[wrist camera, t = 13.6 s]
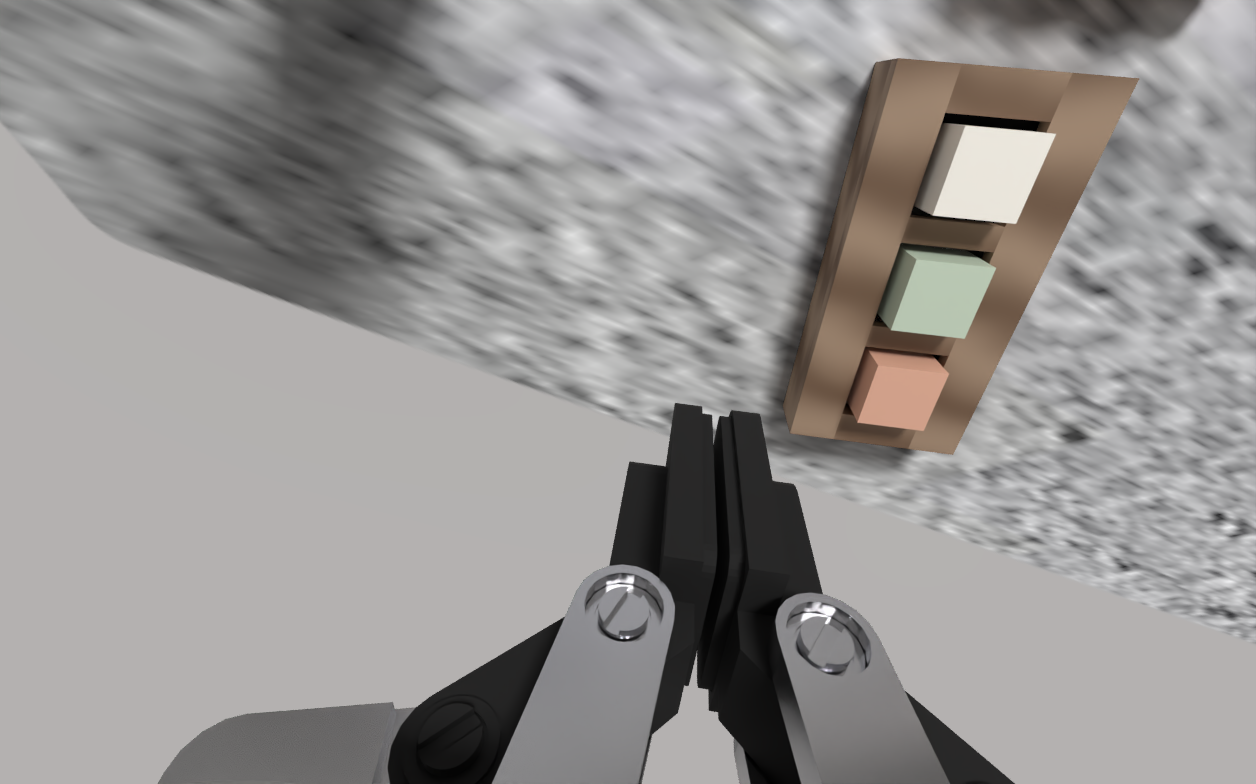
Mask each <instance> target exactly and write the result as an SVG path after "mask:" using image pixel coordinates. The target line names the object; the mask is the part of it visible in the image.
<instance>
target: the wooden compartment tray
mask: <svg viewBox="0 0 1256 784" xmlns="http://www.w3.org/2000/svg"><path fill="white" fill-rule="evenodd" d="M1138 80H1139V78H1127V77H1115V76H1103V75H1091V74H1079V73H1067V72H1055V71H1043V70H1031V69H1019V68H1007V67H995V66H983V65H971V64H959V63H948V62H936V61H924V60H912V59H900V58H897V59H892V60H886V61H881V62H876V63H875V67H874V71H873V74H872V78H871V82H870V85H869V89H868V93H867V97H866V100H865V104H864V108H863V111H862V115H861V119H860V122H859V126H858V130H857V133H856V137H855V141H854V145H853V148H852V152H851V156H850V159H849V163H848V167H847V170H846V174H845V178H844V181H843V185H842V189H841V193H840V196H839V200H838V204H837V207H836V211H835V215H834V218H833V222H832V226H831V230H830V233H829V237H828V241H827V244H826V248H825V252H824V255H823V259H822V263H821V266H820V270H819V274H818V278H817V281H816V285H815V289H814V292H813V296H812V300H811V303H810V307H809V311H808V315H807V318H806V322H805V326H804V329H803V333H802V337H801V340H800V344H799V348H798V351H797V355H796V359H795V363H794V366H793V370H792V374H791V377H790V381H789V385H788V388H787V392H786V396H785V400H784V403H783V409H784V413H785V416H786V420H787V424H788V428H789V431H790V433H791V434H799V435H806V436H814V437H822V438H829V439H837V440H845V441H852V442H860V443H868V444H875V445H883V446H891V447H898V448H906V449H914V450H921V451H929V452H937V453H944V454H952V455H953V453H954V451H955V449H956V447H957V445H958V443H959V441H960V439H961V437H962V435H963V433H964V431H965V429H966V427H967V425H968V423H969V421H970V419H971V417H972V415H973V413H974V411H975V409H976V407H977V405H978V403H979V401H980V399H981V397H982V395H983V393H984V391H985V389H986V387H987V385H988V383H989V381H990V379H991V377H992V375H993V373H994V371H995V369H996V367H997V365H998V363H999V361H1000V359H1001V357H1002V355H1003V353H1004V351H1005V349H1006V347H1007V345H1008V343H1009V340H1010V338H1011V336H1012V334H1013V332H1014V330H1015V328H1016V326H1017V324H1018V322H1019V320H1020V318H1021V316H1022V314H1023V312H1024V310H1025V308H1026V306H1027V304H1028V302H1029V300H1030V298H1031V296H1032V294H1033V292H1034V290H1035V288H1036V286H1037V284H1038V282H1039V280H1040V278H1041V276H1042V274H1043V272H1044V270H1045V268H1046V266H1047V264H1048V262H1049V260H1050V258H1051V256H1052V254H1053V252H1054V250H1055V248H1056V246H1057V244H1058V242H1059V240H1060V238H1061V236H1062V234H1063V232H1064V230H1065V228H1066V225H1067V223H1068V221H1069V219H1070V217H1071V215H1072V213H1073V211H1074V209H1075V207H1076V205H1077V203H1078V201H1079V199H1080V197H1081V195H1082V193H1083V191H1084V189H1085V187H1086V185H1087V183H1088V181H1089V179H1090V177H1091V175H1092V173H1093V171H1094V169H1095V167H1096V165H1097V163H1098V161H1099V159H1100V157H1101V155H1102V153H1103V151H1104V149H1105V147H1106V145H1107V143H1108V141H1109V139H1110V137H1111V135H1112V133H1113V131H1114V129H1115V127H1116V125H1117V123H1118V121H1119V119H1120V117H1121V115H1122V113H1123V110H1124V108H1125V106H1126V104H1127V102H1128V100H1129V98H1130V96H1131V94H1132V92H1133V90H1134V88H1135V86H1136V84H1137V82H1138ZM945 113H953V114H964V115H975V116H986V117H997V118H1009V119H1020V120H1031V121H1040V124H1039V126H1038V128H1037V131H1036V132H1044V133H1053V134H1056V135H1055V138H1054V140H1053V142H1052V144H1051V147H1050V149H1049V151H1048V153H1047V156H1046V158H1045V160H1044V162H1043V165H1042V167H1041V169H1040V171H1039V174H1038V176H1037V178H1036V180H1035V182H1034V185H1033V187H1032V189H1031V191H1030V194H1029V196H1028V198H1027V200H1026V203H1025V205H1024V207H1023V209H1022V212H1021V214H1020V216H1019V218H1018V221H1017V223H1016V224H1012V223H1002V222H997V223H987V222H978V221H968V220H958V219H948V218H939V217H929V216H919V215H910V214H911V211H912V209H913V206H914V203H915V200H916V197H917V194H918V191H919V188H920V185H921V182H922V179H923V176H924V174H925V171H926V168H927V165H928V162H929V159H930V156H931V153H932V150H933V147H934V144H935V141H936V138H937V136H938V133H939V130H940V127H941V124H942V121H943V118H944V115H945ZM901 243H909V244H919V245H928V246H938V247H947V248H957V249H966V250H975V251H985V252H984V254H983V257H982V260H983V261H985V262H987V263H988V264H990V265H992V266H994V267H995V268H996V270H995V272H994V274H993V276H992V279H991V281H990V283H989V285H988V288H987V290H986V292H985V294H984V297H983V299H982V301H981V303H980V306H979V308H978V310H977V312H976V315H975V317H974V319H973V321H972V324H971V326H970V328H969V330H968V332H967V335H966V337H965V339H962V338H954V337H945V336H936V335H928V334H919V333H911V332H902V331H894V330H890V328H889V327H888V326H887V325H886V323H885V322H879V321H874V319H875V317H876V314H877V311H878V308H879V305H880V302H881V299H882V296H883V293H884V290H885V287H886V284H887V282H888V279H889V276H890V273H891V270H892V267H893V264H894V261H895V258H896V255H897V252H898V249H899V246H900V244H901ZM865 346H867V347H876V348H884V349H893V350H901V351H909V352H918V353H926V354H935V355H940V357H939V360H938V362H939V363H940V364H941V366H942V367H943V368H944V369H945V370H946V371H947V372H948V373H949V375H948V378H947V380H946V382H945V384H944V387H943V389H942V391H941V393H940V396H939V398H938V400H937V402H936V405H935V407H934V409H933V411H932V413H931V416H930V418H929V420H928V422H927V425H926V427H925V429H924V431H919V430H912V429H904V428H896V427H888V426H880V425H873V424H865V423H857V421H856V418H855V416H854V414H853V412H852V410H851V408H850V406H849V404H848V403H846V401H847V398H848V395H849V392H850V390H851V387H852V384H853V381H854V378H855V375H856V372H857V369H858V366H859V363H860V360H861V357H862V354H863V352H864V349H865Z"/></svg>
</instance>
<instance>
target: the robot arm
mask: <svg viewBox="0 0 1256 784" xmlns="http://www.w3.org/2000/svg"><path fill="white" fill-rule="evenodd" d="M696 653H697V684H698V688H703V689H709V711H714V712H718V716H719V717H718V718H719V721H720V722H721V723H722V724H723V726H724V727H725V728H726V729H727V730H728V731H729V732H730V734H731V735H732V736H733V737H734V756H735V762H736V767H737V771H738V778H739V783H740V784H1015V783H1013V782H1012V781H1011V780H1010V779H1009V778H1007V777H1006V776H1005V775H1004V774H1002V773H1001V772H1000V771H999V770H998V769H997V768H996V767H994V766H993V765H992V764H991V763H990V762H989V761H987V760H986V759H985V758H984V757H983V756H981V755H980V754H979V753H977V751H976V750H974V749H973V748H972V747H971V746H970V745H968V744H967V743H966V742H965V741H964V740H962V739H961V738H960V737H959V736H958V735H957V734H955V733H954V732H953V731H952V730H951V729H950V728H948V727H947V726H946V725H945V724H944V723H942V722H941V721H940V720H939V719H938V718H937V717H935V716H934V715H933V714H932V713H930V712H929V711H928V710H927V709H926V708H925V707H924V706H922V705H921V704H920V703H919V702H918V701H916V700H915V699H914V698H913V697H912V696H910V695H909V694H908V693H907V692H906V691H905V690H904V688H903V686H902V684H901V682H900V680H899V678H898V676H897V674H896V672H895V670H894V668H893V666H892V664H891V662H890V660H889V657H888V655H887V653H886V651H885V649H884V647H883V645H882V643H881V641H880V639H879V637H878V636H877V634H876V633H875V631H874V630H873V628H872V626H871V625H870V623H869V622H867V620H866V619H865V618H863V617H862V615H860V614H859V613H858V612H857V611H856V610H855V609H853V608H852V607H850V606H849V605H847V604H846V603H844V602H842V601H840V600H838V599H835V598H833V597H830V596H827V595H823V593H822V589H821V585H820V581H819V577H818V573H817V569H816V565H815V561H814V557H813V553H812V549H811V545H810V540H809V536H808V532H807V528H806V524H805V521H804V516H803V512H802V508H801V504H800V500H799V496H798V492H797V489H796V487H795V486H794V485H793V484H790V483H783V482H775V481H773V480H772V475H771V470H770V465H769V459H768V454H767V449H766V443H765V438H764V433H763V428H762V422H761V417H760V414H757V413H749V412H741V411H733V410H731V412H730V415H729V417H724V416H720V417H719V420H718V425H717V430H716V435H715V440H714V445H713V427H712V415H709V414H702V406H694V405H687V404H679V403H675V407H674V413H673V420H672V427H671V434H670V441H669V447H668V455H667V461H666V466H658V465H651V464H644V463H635V462H629V467H628V471H627V476H626V482H625V487H624V492H623V497H622V502H621V508H620V513H619V518H618V524H617V529H616V534H615V539H614V545H613V550H612V555H611V560H610V565H609V566H607V567H605V568H602V569H599V570H597V571H595V572H593V573H592V574H591V575H589V576H588V577H587V578H586V579H584V580H583V582H582V583H581V585H580V587H579V588H578V589H577V591H576V593H575V595H574V598H573V600H572V602H571V605H570V607H569V609H568V611H567V614H566V616H565V617H564V618H562V619H560V620H559V621H557V622H555V623H553V624H552V625H550V626H548V627H547V628H545V629H543V630H542V631H540V632H538V633H537V634H535V635H533V636H532V637H530V638H528V639H526V640H525V641H524V642H522V643H520V644H518V645H516V646H515V647H513V648H511V649H510V650H508V651H506V652H505V653H503V654H501V655H500V656H498V657H496V658H495V659H493V660H491V661H490V662H488V663H486V664H484V665H483V666H481V667H479V668H478V669H476V670H474V671H473V672H471V673H469V674H467V675H466V676H464V677H462V678H461V679H459V680H457V681H456V682H454V683H452V684H451V685H449V686H447V687H446V688H444V689H442V690H441V691H439V692H437V693H436V694H434V695H432V696H431V697H429V698H428V699H427V700H425V701H424V702H423V703H422V704H420V705H419V706H418V707H416V708H406V709H394V705H393V702H390V703H378V704H365V705H353V706H340V707H328V708H315V709H303V710H290V711H277V712H266V713H252V714H245V715H241V716H237V717H233V718H229V719H225V720H224V721H221V722H219V723H218V724H216V725H214V726H212V727H210V728H208V729H206V730H205V731H203V732H201V733H200V734H199V735H198V736H197V737H196V738H194V739H193V740H192V741H191V742H190V743H189V744H187V745H186V746H185V747H184V748H183V749H182V750H181V751H180V752H179V753H178V755H177V756H176V757H175V759H174V760H173V761H172V763H171V764H170V765H169V767H168V768H167V769H166V771H165V772H164V774H163V775H162V777H161V779H160V781H159V782H158V784H642V779H643V775H644V770H645V766H646V761H647V757H648V752H649V747H650V743H651V738H652V734H653V733H654V732H655V731H657V730H658V729H659V728H660V727H661V726H663V725H664V724H665V723H666V722H667V721H669V720H670V719H671V718H672V717H673V716H675V715H676V714H677V713H678V710H679V705H680V701H681V697H682V692H683V688H684V685H685V686H688V685H689V682H690V678H691V673H692V669H693V665H694V661H695V657H696Z"/></svg>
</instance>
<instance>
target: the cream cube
mask: <svg viewBox="0 0 1256 784" xmlns="http://www.w3.org/2000/svg"><path fill="white" fill-rule="evenodd" d="M1055 135H1056V134H1053V133H1044V132H1035V131H1026V130H1017V129H1006V128H995V127H984V126H973V125H962V124H951V123H942V124H941V127H940V130H939V133H938V136H937V138H936V141H935V144H934V147H933V150H932V153H931V156H930V159H929V162H928V165H927V168H926V171H925V174H924V176H923V179H922V182H921V185H920V188H919V191H918V194H917V197H916V200H915V203H914V206H915V207H917V208H919V209H921V210H923V211H925V212H927V213H929V214H931V215H933V216H943V217H953V218H962V219H972V220H982V221H992V222H1002V223H1012V224H1016V223H1017V221H1018V218H1019V216H1020V214H1021V212H1022V209H1023V207H1024V205H1025V203H1026V200H1027V198H1028V196H1029V194H1030V191H1031V189H1032V187H1033V185H1034V182H1035V180H1036V178H1037V176H1038V174H1039V171H1040V169H1041V167H1042V165H1043V162H1044V160H1045V158H1046V156H1047V153H1048V151H1049V149H1050V147H1051V144H1052V142H1053V140H1054V138H1055Z"/></svg>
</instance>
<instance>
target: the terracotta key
mask: <svg viewBox="0 0 1256 784" xmlns="http://www.w3.org/2000/svg"><path fill="white" fill-rule="evenodd" d="M948 375H949V373H948V372H947V371H946V370H945V369H944V368H943V367H942V366H941V364H940V363H939V362H938V361H937V360H936V359H935V358H934V357H933V355H932V354H926V353H918V352H909V351H901V350H893V349H884V348H876V347H867V346H865V349H864V352H863V354H862V357H861V360H860V363H859V366H858V369H857V372H856V375H855V378H854V381H853V384H852V387H851V390H850V392H849V395H848V398H847V402H848V404H849V406H850V408H851V410H852V412H853V414H854V416H855V418H856V421H857V423H865V424H873V425H880V426H888V427H896V428H904V429H912V430H919V431H924V429H925V427H926V425H927V422H928V420H929V418H930V416H931V413H932V411H933V409H934V407H935V405H936V402H937V400H938V398H939V396H940V393H941V391H942V389H943V387H944V384H945V382H946V380H947V378H948Z"/></svg>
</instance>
